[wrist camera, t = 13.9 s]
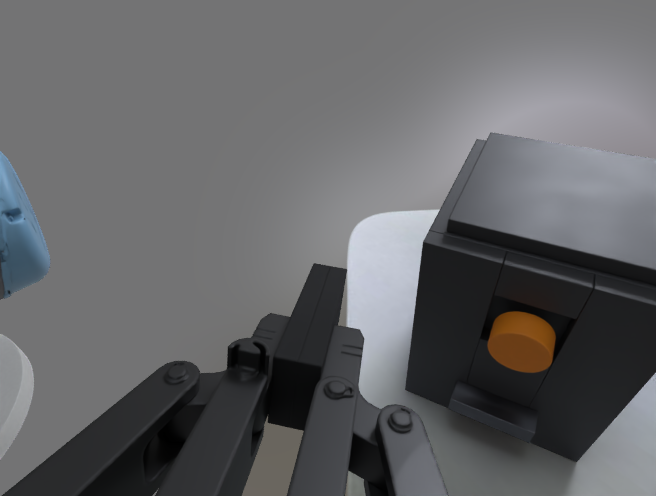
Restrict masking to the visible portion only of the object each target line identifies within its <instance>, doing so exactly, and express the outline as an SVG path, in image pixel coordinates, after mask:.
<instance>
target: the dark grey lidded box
mask: <svg viewBox="0 0 656 496" xmlns="http://www.w3.org/2000/svg"><path fill="white" fill-rule="evenodd" d="M513 311H519V312H526V313H530V314H533V315H536V316H538V317H540V318H542V319H543V320H545V321H546V322H547V323H548V324H549V325H550V326H551V327H552V328H553V330H554V332H555V335H556V340H555V347H554V353H553V360H552V363H551V365H550V366H549V367H548V368H547V369H545V370H543V371H540V372H535V373H527V372H520V371H516V370H513V369H510V368H508V367H506V366H504V365H502V364H500V363H499V362H498V361H496V360H495V359H494V358H493V357H492V356H491V354H490V352H489V350H488V340H489V337H490V333H491V330H492V326H493V323H494V320H495V319H496V318H497V317H498V316H499V315H501V314H503V313H506V312H513ZM655 373H656V159H653V158H647V157H641V156H634V155H628V154H622V153H616V152H610V151H603V150H597V149H590V148H584V147H578V146H572V145H565V144H559V143H552V142H547V141H541V140H534V139H528V138H522V137H516V136H509V135H503V134H497V133H490V135H489V137H488V139H487V141H486V140H479V139H477V140H476V142H475V144H474V146H473V148H472V149H471V151H470V153H469V155H468V157H467V159H466V161H465V163H464V165H463V167H462V169H461V171H460V172H459V174H458V177H457V178H456V180H455V182H454V184H453V186H452V188H451V190H450V192H449V194H448V196H447V197H446V199H445V201H444V203H443V205H442V207H441V209H440V211H439V213H438V215H437V217H436V219H435V220H434V222H433V224H432V226H431V228H430V230H429V232H428V234H427V236H426V238H425V239H424V241H423V247H422V256H421V264H420V272H419V281H418V289H417V297H416V305H415V314H414V322H413V330H412V338H411V347H410V355H409V363H408V372H407V380H406V388H405V390H407V391H410V392H412V393H414V394H417V395H419V396H422V397H424V398H426V399H429V400H431V401H433V402H436V403H438V404H441V405H443V406H445V407H448V409H450V410H453V411H455V412H457V413H460V414H462V415H464V416H467V417H469V418H472V419H474V420H476V421H479V422H481V423H483V424H486V425H488V426H490V427H493V428H495V429H498V430H500V431H502V432H505V433H507V434H509V435H512V436H514V437H517V438H519V439H521V440H524V441H526V442H528V443H529V442H531V443H533V444H535V445H538V446H540V447H543V448H545V449H547V450H550V451H552V452H554V453H557V454H559V455H562V456H564V457H566V458H569V459H571V460H573V461H576V462H577V461H578V460H579V459H580V458H581V457H582V455H583V454H584V453H585V452H586V451H587V450H588V449H589V447H590V446H591V445H592V444H593V443H594V442H595V441H596V440H597V438H598V437H599V436H600V435H601V434H602V433H603V432H604V430H605V429H606V428H607V427H608V426H609V425H610V424H611V423H612V421H613V420H614V419H615V418H616V417H617V416H618V415H619V413H620V412H621V411H622V410H623V409H624V408H625V407H626V405H627V404H628V403H629V402H630V401H631V400H632V399H633V398H634V396H635V395H636V394H637V393H638V392H639V391H640V390H641V388H642V387H643V386H644V385H645V384H646V383H647V382H648V381H649V379H650V378H651V377H652V376H653V375H654V374H655Z"/></svg>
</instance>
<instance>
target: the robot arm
mask: <svg viewBox="0 0 656 496" xmlns="http://www.w3.org/2000/svg"><path fill="white" fill-rule="evenodd" d="M49 268H50V256H49V252H48V249H47V245H46V242H45V239H44V236H43V234H42V231H41V228H40V226H39V223H38V221H37V218H36V216H35V213H34V211H33V209H32V206H31V204H30V202H29V199H28V197H27V195H26V193H25V191H24V188H23V186H22V184H21V182H20V180H19V178H18V176H17V174H16V172H15V170H14V169H13V167H12V165H11V163H10V162H9V160H8V159H7V157H6V156H5V155H4V154H2V152H1V151H0V299H3V298H4V299H5V298H8V297H10V296H11V294H12V293H14V292H17V291H19V290H21V289H23V288H25V287H27V286H29V285H32V284H34V283H36V282H38V281H40V280H41V279H43V277H44V276H45V275H46V274H47V272H48V270H49ZM346 273H347V269H343V268H337V267H331V266H326V265H321V264H313V266H312V269H311V271H310V274H309V276H308V278H307V280H306V283H305V285H304V287H303V289H302V292H301V294H300V297H299V299H298V301H297V303H296V306H295V308H294V310H293V312H292V315H291V317H287V316H282V315H277V314H272V313H270V314H268V315H267V316H265V317H264V318H262V319H261V321H260V322H259V324H258V326H257V328H256V330H255V332H254V334H253V336H252V337H251V338H244V339H239V340H237V341H235V342H233V343H231V344H230V345H229V346H228V361H227V370H225V371H222V372H216V373H201V374H200V371H199V369H198V368H197V366H196V365H194V364H193V363H191V362H187V361H174V362H171V363H167V364H165V365H164V366H162V367H160V368H159V369H158V370H156V371H155V372H154V373H153V374H151V375H150V376H149V377H148V378H147V379H145V380H144V381H143V382H142V383H140V384H139V385H138V386H137V387H135V388H134V389H133V390H132V391H131V392H129V393H128V394H127V395H126V396H124V397H123V398H122V399H121V400H119V401H118V402H117V403H116V404H114V405H113V406H112V407H111V408H109V409H108V410H107V411H106V412H105V413H103V414H102V415H101V416H100V417H99V418H97V419H96V420H95V421H93V422H92V423H91V424H90V425H88V426H87V427H86V428H85V429H84V430H82V431H81V432H80V433H79V434H77V435H76V436H75V437H74V438H72V439H71V440H70V441H69V442H67V443H66V444H65V445H64V446H63V447H61V448H60V449H59V450H58V451H56V452H55V453H54V454H53V455H51V456H50V457H49V458H48V459H47V460H45V461H44V462H43V463H42V464H40V465H39V466H38V467H37V468H35V469H34V470H33V471H32V472H31V473H29V474H28V475H27V476H26V477H24V478H23V479H22V480H21V481H19V482H18V483H17V484H16V485H15V486H13V487H12V488H11V489H9V490H8V491H7V492H6V493H5V494H3V495H2V496H152V495H153V494H154V493H155V492H156V491H157V490H158V491H157V493H156V495H155V496H242V493H243V490H244V487H245V485H246V482H247V479H248V476H249V474H250V471H251V468H252V465H253V462H254V460H255V457H256V455H257V452H258V449H259V446H260V444H261V441H262V438H263V432H264V424H265V421H266V418H267V416H268V423H271V424H276V425H280V426H285V427H290V428H294V429H298V430H303V431H304V433H303V436H302V440H301V444H300V448H299V451H298V455H297V459H296V463H295V467H294V470H293V474H292V478H291V482H290V485H289V489H288V493H287V496H345V491H346V483H347V476H348V470H349V471H351V472H352V473H354V474H356V475H358V476H359V477H361V478H363V479H364V487H365V493H366V496H449V495H448V492H447V490H446V487H445V484H444V481H443V478H442V475H441V473H440V470H439V467H438V464H437V461H436V459H435V456H434V453H433V450H432V447H431V444H430V442H429V439H428V436H427V433H426V430H425V428H424V425H423V422H422V420H421V419H420V417H419V415H417V414H416V413H415V412H414V411H413V410H411V409H409V408H407V407H405V406H401V405H396V404H395V405H388V406H386V407H384V408H382V409H379V408H377V407H375V406H373V405H372V404H370V403H368V402H367V401H366V400H365V399H364V398H363V396H362V395H361V394H360V391H359V387H358V383H359V375H360V368H361V360H362V352H363V344H364V337H363V335H362V333H361V331H360V330H359V329H354V328H349V327H343V326H338V322H339V316H340V310H341V304H342V298H343V291H344V285H345V279H346ZM159 487H160V488H159ZM158 488H159V489H158Z"/></svg>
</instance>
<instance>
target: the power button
mask: <svg viewBox="0 0 656 496" xmlns="http://www.w3.org/2000/svg"><path fill="white" fill-rule="evenodd" d="M555 340H556V335H555V332H554V330H553V328H552V327H551V326H550V325H549V324H548V323H547V322H546V321H545V320H543V319H542V318H540V317H538V316H536V315H533V314H530V313H526V312H519V311H513V312H506V313H503V314H501V315H499V316H498V317H497V318H496V319H495V320H494V323H493V326H492V330H491V333H490V337H489V340H488V350H489V352H490V354H491V356H492V357H493V358H494V359H495V360H496V361H498V362H499V363H500V364H502V365H504V366H506V367H508V368H510V369H513V370H516V371H520V372H527V373H535V372H540V371H543V370H545V369H547V368H548V367H549V366H550V365H551V363H552V360H553V353H554V347H555Z"/></svg>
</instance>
